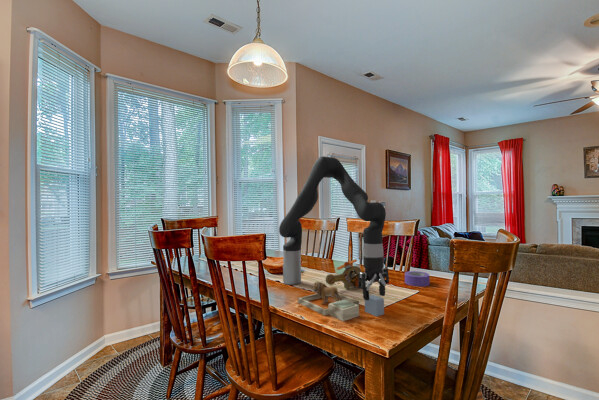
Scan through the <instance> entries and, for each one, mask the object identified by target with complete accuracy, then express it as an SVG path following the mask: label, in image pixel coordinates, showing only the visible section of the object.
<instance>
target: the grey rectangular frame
mask: <svg viewBox="0 0 599 400" xmlns="http://www.w3.org/2000/svg"><path fill="white" fill-rule="evenodd" d="M339 296H340V298H341V299H342V300H340V298H339V301H337V302H336V301H334V302H331V303H330V302H329V303H327V304H328V306H327V308H324V307H321V306H319V305H317V304H315V303H313V302H311V301H315V300H318V299H322V296H319V294H317V293H313V294H309V295H305V296H299V297H297V303H298V304H299V305H302V306H304V307H306V308H308V309H310V310H312V311H314V312H315V313H318V314H320V315H322V316H331V317H333V318H335V319H338V320H339V321H342V322H345V321H347V320H351V319H355V318H357V317H360V300H358V299H355V298H352V297H350V296H347V295H345V294H343V293H339Z"/></svg>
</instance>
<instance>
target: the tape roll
mask: <svg viewBox="0 0 599 400" xmlns="http://www.w3.org/2000/svg"><path fill="white" fill-rule="evenodd" d="M404 283H405V284H406V285H408V286H412V287H421V288H422V287H428V286H430V273H428V272H424V271H419V270H418V271H416V270H410V271H405V272H404Z"/></svg>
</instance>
